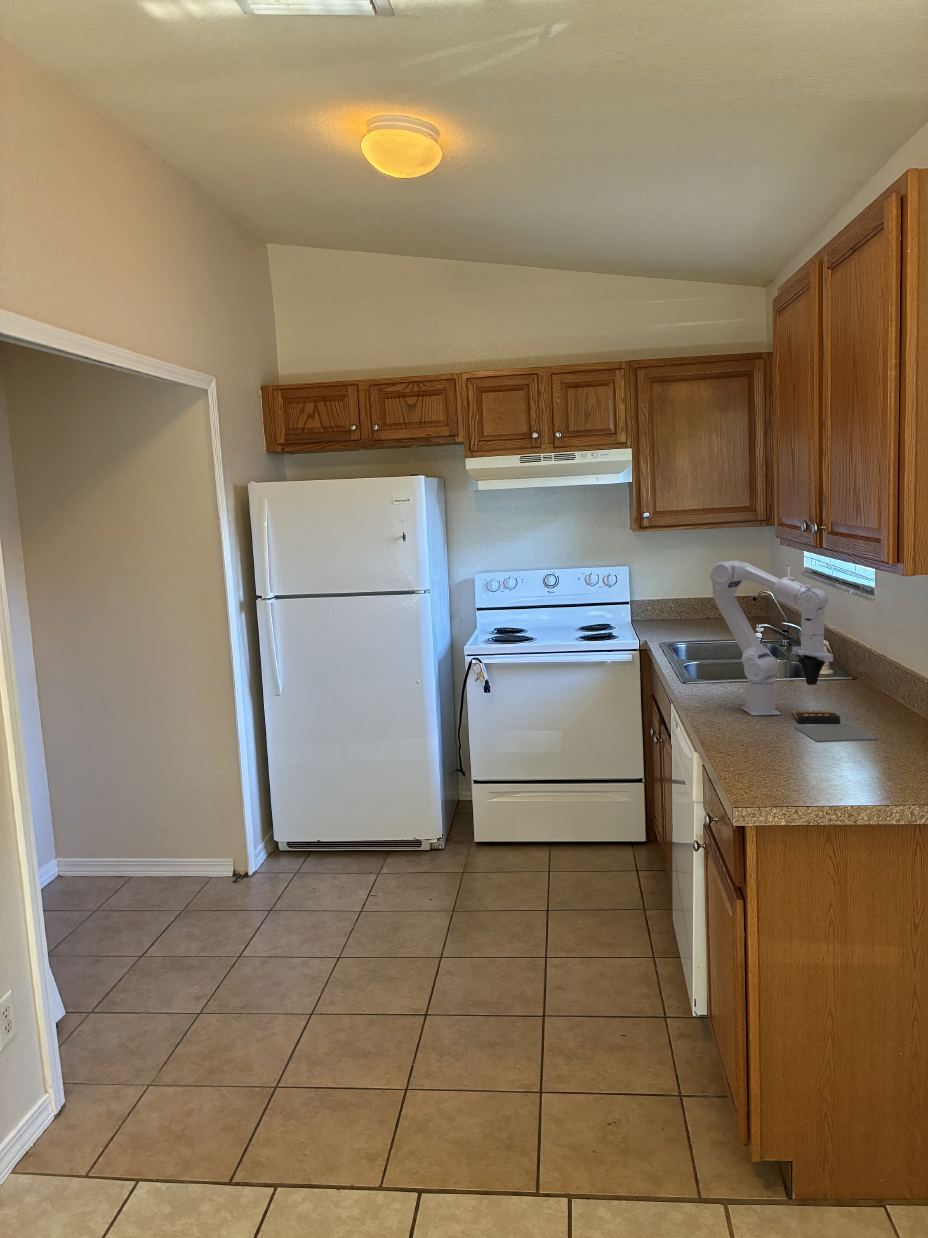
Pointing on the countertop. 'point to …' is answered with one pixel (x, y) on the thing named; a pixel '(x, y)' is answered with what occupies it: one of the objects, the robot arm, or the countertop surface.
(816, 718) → the ammunition clip
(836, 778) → the countertop surface
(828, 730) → the mat
